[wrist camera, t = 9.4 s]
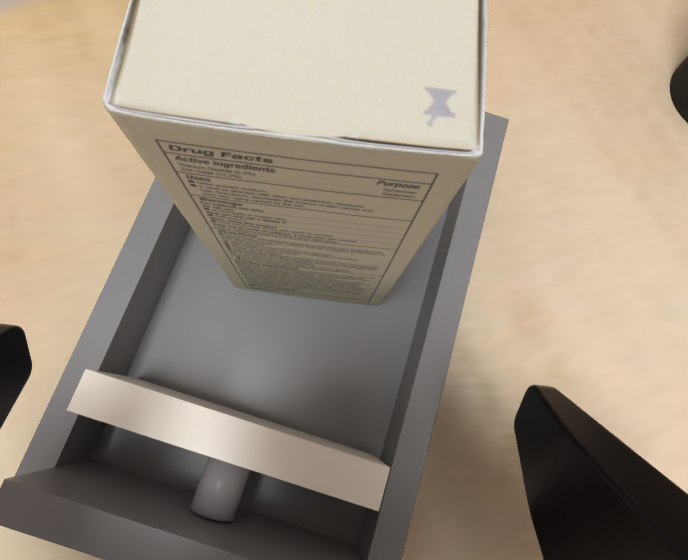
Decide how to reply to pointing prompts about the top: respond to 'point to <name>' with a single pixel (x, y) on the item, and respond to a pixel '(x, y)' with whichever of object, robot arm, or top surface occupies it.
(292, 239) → the skincare box
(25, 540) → the top surface
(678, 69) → the drinking cup
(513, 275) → the top surface
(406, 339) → the tray
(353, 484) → the pusher
